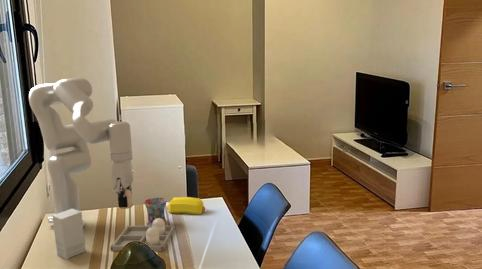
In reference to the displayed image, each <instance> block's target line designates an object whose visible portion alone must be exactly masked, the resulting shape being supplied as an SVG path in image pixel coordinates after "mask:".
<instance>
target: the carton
mask: <svg viewBox="0 0 482 269" xmlns="http://www.w3.org/2000/svg"><path fill="white" fill-rule="evenodd" d="M151 227H153V226H147V225H126V227H125V228H124V229H123V230H122V231H121V233H120V235H118V237H117V238H116V239H115V240H114V242H112V244H111V245H110V251H111V252H121V251H120V250H121V249H122V248H123V247H124V245H125V244H127V243H129V242H132V241H140V242H144V243H146V231H147V230H148V229H149V228H151ZM175 230H176V227H175V225H165V234H166V235H159V240H160V245H159V246H149V247H151V248H152V249H153V250H154V251H153V252H164V251H165V249H166V247H167V245H168V243H169V242H170V240H171V238H172V236H173V234H174V232H175ZM146 244H147V243H146Z"/></svg>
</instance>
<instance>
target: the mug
mask: <svg viewBox="0 0 482 269" xmlns="http://www.w3.org/2000/svg"><path fill="white" fill-rule="evenodd" d="M167 202H168V200H167V199H166V198H164V197H152V198H148V199H146V200H144V201H143V203H144V206H145V208H146V212H147V222H146V226H152V224H153V221H154V220H155V219H157V218H161V219H163V220H164V222H165V226H167V224H168V221H167V219H166V216H165V208H166V206H167Z"/></svg>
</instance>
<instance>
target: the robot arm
mask: <svg viewBox="0 0 482 269" xmlns="http://www.w3.org/2000/svg"><path fill="white" fill-rule="evenodd" d="M92 93H93V87H92V84H91V82H90V81H88V79H87V78H84V77H75V78H74V77H73V78H64V79H60V80H58V81H56V82H54V83H53V82H51V83H43V84H38V85H35V86H34V87H32V88H31V89H30V91H29V93H28V102H29V106H30V108H31V110H32V113H33V114H34V115H35V118H36V119H37V123H38V126H39V128H40V132H41V136H42V138H43V139H42V140H43V142H44V144H45V147H46V149H47V150H49V151H50V152H51V151H52V152H55V151H56V152H57V151H60V150H61V151H62V150H65V149H70V150H68V151H64V152H59V153H57V154H54V155H52V156H51V157H49V159H48V160H47V169H48V172H49V175H50V179H51V184H52V190H53V192H52V193H53V201H54V210H55V214H58V213H61V212H64V211H67V210H69V209H75V210H77V211H80V212H81V206H80V197H79V188H78V183H77V181H76V180H75V179H74V178H73V177H72V175H74V174H78V173H81V172H85V171H87V170H88V169H90V167H91V165H92V157H91V154H90V149H89V147H88V144H99V143H103V142H108V141H109V149H110V151H109V152H110V162H111V163H112V164H111V180H112V181H111V184H112V185H111V186H112V189H113V190H115V194H117V202H118V208H119V207H127V206H128V203H127V196H126V189H129V190H130V191H131V193H132V194H133V192H132V189H133V187H132V183H133V181H134V173H133V164H132V161H133V160H134V159H133V146H132V135H131V125H130V123H128V122H127V121H119V120H116V119H106V120H97V121H93V122H90V121H89V120H88V119H86V117H87V115H89V114H90V113H91V111H92V110H93V107H94V102H93V100H92V99H91V98H90V97H91V95H92ZM59 104H63V105H64V106H65V108H67V109H68V110H69V111H70V112H71V113H72V118H71V119H72V121H71V122H72V124H67V125H64V124H63V122H62V119H61V115H60V114H59V113H58V112H57V111H56V110H55V109H54V108H53V107H52V106H51V105H59ZM87 143H88V144H87ZM121 190H123V191H121ZM47 221H48V222H47V223H48V224H54V223H53V216H48V217H47ZM82 223H83V228H84V227H85V226H86V221H85V220H84V219H82ZM52 227H53V228H52V229H53V230H54V225H53V226H52Z"/></svg>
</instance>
